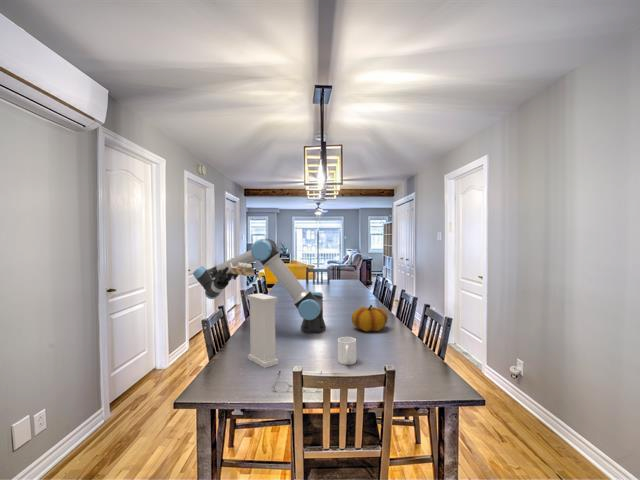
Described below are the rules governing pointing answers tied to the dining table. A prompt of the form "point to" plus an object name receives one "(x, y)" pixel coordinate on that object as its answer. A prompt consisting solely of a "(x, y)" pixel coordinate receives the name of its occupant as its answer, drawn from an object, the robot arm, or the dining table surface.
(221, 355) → the dining table surface
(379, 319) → the decorative pumpkin
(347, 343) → the cup
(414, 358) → the dining table surface
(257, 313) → the pedestal
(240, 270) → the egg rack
